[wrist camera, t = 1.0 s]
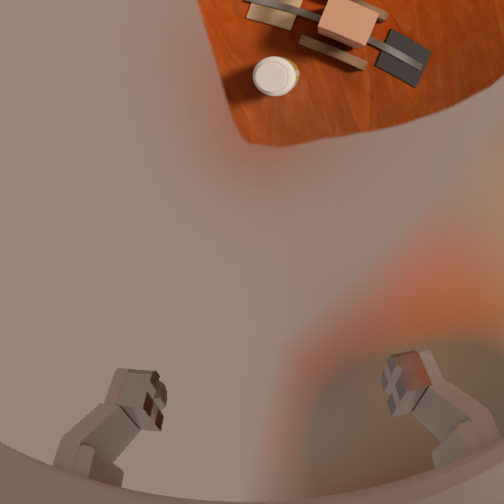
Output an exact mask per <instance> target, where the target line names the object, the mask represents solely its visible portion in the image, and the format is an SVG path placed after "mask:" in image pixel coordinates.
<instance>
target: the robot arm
mask: <svg viewBox="0 0 504 504" xmlns="http://www.w3.org/2000/svg"><path fill="white" fill-rule="evenodd" d="M387 364H388V365H387V366H386V367H385V368H384V369H383V373H382V387H383V390H384V393H386V394H387V395H388V396H389V399H388V401H387V404H388V407H389V410H390V413H391V416H392V417H393V416H397V415H402V414H406V413H410V412H412V414H413V415H414V416H415V417H416V418H417V419H418V420H419V421H420V422H421V423H422V424H423V425H424V426H425V427H426V428H427V429H428V430H429V431H430V432H431V433H432V434H434V435H435V436H436V437H437V438H438V439H439V440H440V441H441V442H442V443H441V444H439V445H438V446H437V447H436V448H435V449H434V450H433V452H432V458H433V461H434V465H435V469H433V470H430V471H427V472H424V473H421V474H418V475H415V476H412V477H409V478H406V479H402V480H399V481H395V482H392V483H388V484H384V485H380V486H376V487H372V488H368V489H363V490H359V491H354V492H349V493H344V494H337V495H332V496H324V497H317V498H309V499H299V500H287V501H270V502H222V501H205V500H193V499H184V498H176V497H168V496H162V495H156V494H150V493H145V492H140V491H134V490H130V489H125V488H121V486H122V480H123V475H124V472H123V471H122V469H120V468H119V467H118V466H116V465H115V464H114V463H113V462H114V461H115V460H116V459H117V457H118V456H119V455H120V454H121V453H122V452H123V450H124V449H125V448H126V447H127V446H128V445H129V443H130V442H131V441H132V440H133V439H134V437H135V436H136V435H137V434H138V433H139V432H140V430H150V431H161V428H162V423H163V417H164V416H163V414H162V412H161V410H162V409H164V408H165V407H166V402H167V391H166V387H165V385H164V383H162V382H160V381H159V377H160V376H159V374H158V373H157V371H147V370H134V369H123V368H118V369H117V370H116V371H115V373H114V376H113V379H112V381H111V385H110V387H109V390H108V393H107V396H106V399H105V402H104V404H99V405H98V406H97V407H96V408H95V409H94V410H93V411H91V412H90V413H89V414H88V415H87V416H86V417H85V418H83V419H82V420H81V421H80V422H79V423H78V424H76V425H75V426H74V427H73V428H72V429H71V430H70V431H68V432H67V433H66V434H65V435H64V436H63V437H62V438H61V440H60V444H59V447H58V450H57V453H56V456H55V459H54V463H53V466H51V465H48V464H46V463H44V462H41V461H39V460H36V459H34V458H32V457H30V456H28V455H25V454H23V453H21V452H19V451H17V450H15V449H13V448H11V447H9V446H7V445H5V444H3V443H1V442H0V504H504V437H503V438H500V435H499V432H498V430H497V427H496V425H495V422H494V420H493V418H492V415H491V413H490V411H489V410H488V409H487V408H485V407H484V406H482V405H481V404H480V403H478V402H477V401H475V400H474V399H473V398H471V397H470V396H468V395H467V394H466V393H464V392H463V391H461V390H460V389H459V388H456V386H454V385H453V384H451V383H450V382H449V381H445V382H444V379H443V378H442V375H441V373H440V371H439V369H438V366H437V364H436V362H435V360H434V358H433V356H432V354H431V352H430V350H429V349H428V348H422V349H417V350H411V351H407V352H402V353H397V354H392V355H390V356H389V357H388V359H387ZM139 429H140V430H139Z"/></svg>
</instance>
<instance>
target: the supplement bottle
mask: <svg viewBox="0 0 504 504" xmlns="http://www.w3.org/2000/svg"><path fill="white" fill-rule="evenodd" d="M298 80H299V70H298V67H297V66H296V64H295V63H294V62H292V61H291V60H289V59H287V58H283V57H276V56H271V57H267V58H264V59H262V60H261V61H259V62H258V63H257V65H256V66H255V68H254V71H253V81H254V84H255V86H256V87H257V88H258V89H259V90H260V91H261V92H262V93H264V94H266V95H269V96H281V95H284V94H286V93H287V92H289V91H290V90H291V89H292V88H293V87H294V86H295V85H296V84H297V82H298Z"/></svg>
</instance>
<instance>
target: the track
mask: <svg viewBox="0 0 504 504" xmlns="http://www.w3.org/2000/svg"><path fill="white" fill-rule="evenodd" d="M245 1H248V2H253V3H257V4H261V5H265V6H269V7H273V8H276V9H280V10H283V11H287V12H290V13H293V14H296V15H299V16H302V17H305V18H308V19H310V20H313V21H316V22H320V19H321V17H322V16H321V15H319V14H316V13H313V12H310V11H307V10H304V9H301V8H298V7H295V6H291V5H288V4H285V3H281V2H278V1H274V0H245ZM350 1H352V2H354V3H357V4H359V5H361V6H364V7H366V8H368V9H370V10H373V11H375V12H377V13H379V15H378V17H377V21H379V22H381V23H383V22H385V21H386V19H387V16H388V14H389V13H387V12H385V11H383V10H381V9H379V8H377V7H375V6H373V5H371V4H369V3H366V2H364V1H362V0H350ZM367 43H369V44H371V45H373V46H375V47H377V48H379V49H381V50H383V51H385V52H387V53H389V54H391V55H393V56H395V57H396V58H398V59H400V60H402V61H404V62H405V63H407V64H409V65H411V66H412V67H414V68H416V69H417V70H419V71H420V70H421V68H422V66H423V65H422V64H421V63H419V62H418V61H416V60H414V59H413V58H411V57H409V56H407V55H406V54H404V53H402V52H400V51H398V50H397V49H395V48H393V47H391V46H389V45H387V44H385V43H383V42H381V41H379V40H377V39H375V38H373V37H371V36H370V37H369V39H368V41H367ZM298 44H299V45H302V46H305V47H307V48H310V49H313V50H315V51H318V52H321V53H323V54H326V55H328V56H331V57H333V58H335V59H338V60H340V61H342V62H345V63H347V64H349V65H351V66H353V67H356V68H358V69H360V70H362V71H365V68H366V66H367V64H368V62H367V61H365V60H362V59H360V58H358V57H356V56H354V55H352V54H349V53H347V52H345V51H342V50H340V49H338V48H335V47H333V46H331V45H328V44H326V43H323V42H320V41H318V40H315V39H312V38H310V37H307V36H304V35H301V37H300V40H299V42H298Z"/></svg>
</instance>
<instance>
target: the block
mask: <svg viewBox="0 0 504 504" xmlns="http://www.w3.org/2000/svg"><path fill="white" fill-rule="evenodd" d="M378 15H379V13H377V12H375V11H373V10H370V9H368V8H366V7H364V6H361V5H359V4H357V3H354V2H352V1H350V0H328V2H327V5H326V7H325V9H324V12H323V14H322V17H321V19H320V22H319V24H318V34H321V35H323V36H326V37H328V38H331V39H333V40H336V41H338V42H341V43H343V44H345V45H348V46H350V47H352V48H354V49H356V50H357V49H359V48H362V47H364V46H366V44H367V41H368V39H369V37H370V34H371V32H372V29H373V27H374V25H375V22H376V20H377V17H378Z"/></svg>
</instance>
